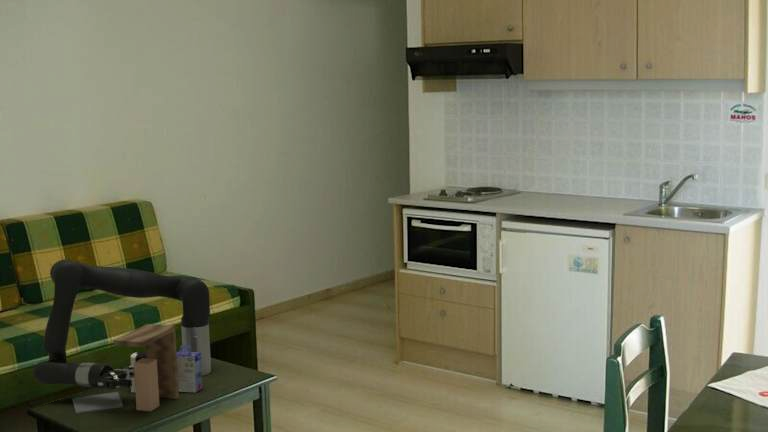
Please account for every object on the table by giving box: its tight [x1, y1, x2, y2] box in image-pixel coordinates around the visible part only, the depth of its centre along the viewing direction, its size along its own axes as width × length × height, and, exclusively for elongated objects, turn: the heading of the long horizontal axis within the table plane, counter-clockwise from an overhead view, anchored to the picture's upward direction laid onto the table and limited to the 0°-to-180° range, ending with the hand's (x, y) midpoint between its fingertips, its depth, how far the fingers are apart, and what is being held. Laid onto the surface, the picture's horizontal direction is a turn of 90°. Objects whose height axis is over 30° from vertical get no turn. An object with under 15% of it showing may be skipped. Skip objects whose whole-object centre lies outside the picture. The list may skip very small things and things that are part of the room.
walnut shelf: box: [112, 323, 180, 400], centre depth 285 cm, size 10×19×24 cm, turn 163°
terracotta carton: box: [134, 358, 160, 412], centre depth 284 cm, size 5×5×15 cm
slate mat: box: [72, 391, 124, 415], centre depth 290 cm, size 14×14×1 cm
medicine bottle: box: [128, 351, 147, 393], centre depth 303 cm, size 7×7×12 cm
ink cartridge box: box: [176, 345, 203, 393], centre depth 300 cm, size 10×6×14 cm, turn 78°
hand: (139, 379), depth 284 cm, fingers open, 8 cm apart
